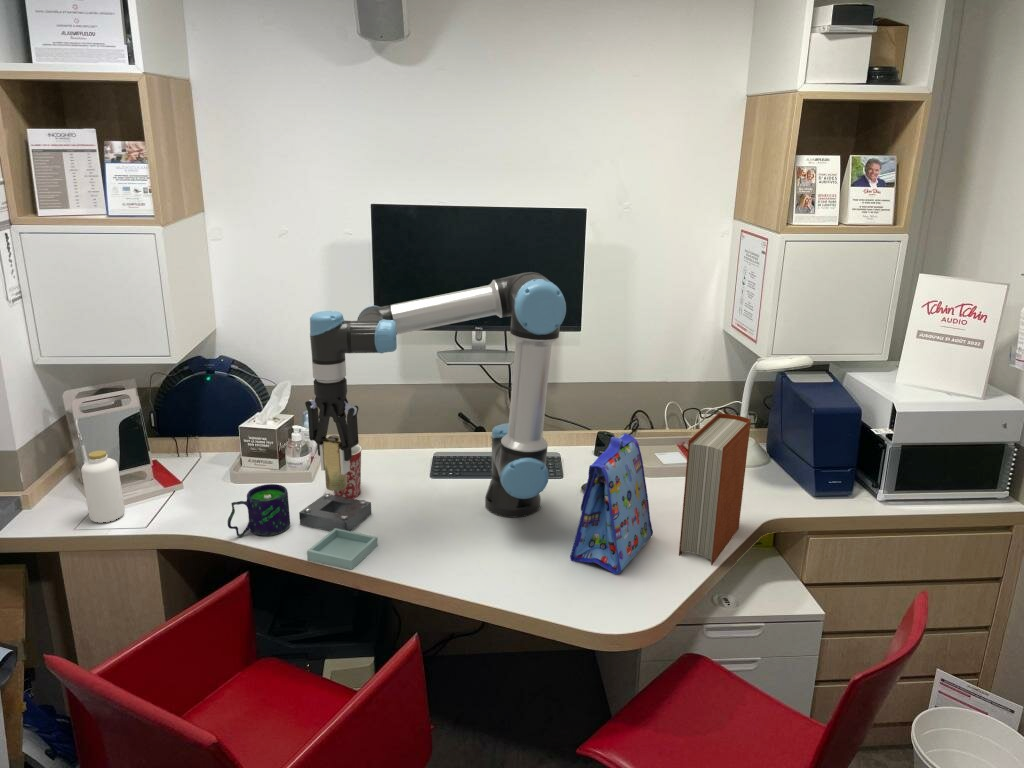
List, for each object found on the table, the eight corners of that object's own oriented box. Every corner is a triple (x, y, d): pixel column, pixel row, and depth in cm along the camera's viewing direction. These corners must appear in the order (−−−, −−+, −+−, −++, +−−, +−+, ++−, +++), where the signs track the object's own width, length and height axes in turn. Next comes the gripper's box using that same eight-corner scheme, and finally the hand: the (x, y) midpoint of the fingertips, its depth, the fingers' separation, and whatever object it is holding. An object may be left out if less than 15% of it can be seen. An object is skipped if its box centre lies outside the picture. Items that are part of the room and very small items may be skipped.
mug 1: (285, 515, 204) (282, 480, 201) (294, 531, 196) (291, 495, 192) (225, 527, 197) (221, 492, 194) (231, 545, 189) (226, 508, 186)
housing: (371, 514, 205) (370, 500, 204) (347, 534, 194) (346, 519, 193) (326, 505, 210) (325, 491, 208) (300, 524, 199) (299, 510, 198)
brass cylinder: (351, 483, 189) (348, 435, 185) (339, 492, 184) (336, 442, 180) (334, 480, 191) (331, 432, 187) (321, 488, 186) (318, 439, 182)
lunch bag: (605, 523, 201) (610, 420, 193) (654, 537, 195) (662, 430, 186) (567, 560, 184) (572, 448, 175) (620, 576, 177) (628, 460, 168)
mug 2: (359, 501, 212) (356, 456, 208) (326, 500, 213) (323, 454, 209) (370, 482, 224) (368, 439, 220) (340, 480, 225) (337, 437, 221)
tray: (377, 545, 189) (377, 536, 189) (351, 569, 179) (351, 560, 178) (335, 536, 193) (335, 528, 192) (307, 559, 182) (306, 550, 182)
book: (711, 565, 182) (723, 447, 173) (678, 555, 186) (688, 440, 177) (740, 526, 201) (752, 418, 192) (709, 518, 205) (719, 412, 196)
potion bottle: (132, 513, 204) (122, 450, 198) (104, 527, 197) (94, 462, 191) (110, 507, 207) (100, 445, 202) (82, 520, 200) (71, 456, 194)
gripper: (371, 378, 179) (376, 470, 186) (308, 369, 186) (314, 458, 193) (353, 387, 173) (358, 482, 180) (287, 377, 179) (295, 469, 186)
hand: (335, 470), depth 186 cm, fingers closed on brass cylinder, 5 cm apart
